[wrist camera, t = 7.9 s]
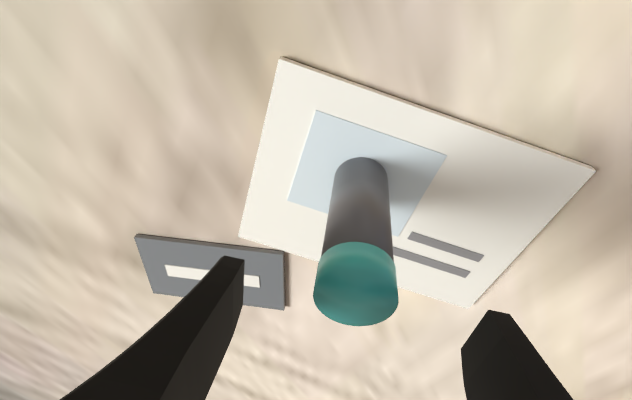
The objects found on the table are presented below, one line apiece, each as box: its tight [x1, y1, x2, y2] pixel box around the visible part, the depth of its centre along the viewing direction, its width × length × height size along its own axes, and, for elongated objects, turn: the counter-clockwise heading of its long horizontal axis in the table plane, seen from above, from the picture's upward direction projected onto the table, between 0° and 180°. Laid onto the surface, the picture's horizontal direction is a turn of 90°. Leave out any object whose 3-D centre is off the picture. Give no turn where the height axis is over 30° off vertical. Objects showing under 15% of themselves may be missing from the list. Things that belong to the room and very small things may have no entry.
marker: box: [313, 157, 398, 326], centre depth 14 cm, size 3×3×7 cm
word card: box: [134, 234, 285, 310], centre depth 22 cm, size 9×5×1 cm, turn 88°
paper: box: [238, 57, 596, 309], centre depth 17 cm, size 14×10×1 cm
